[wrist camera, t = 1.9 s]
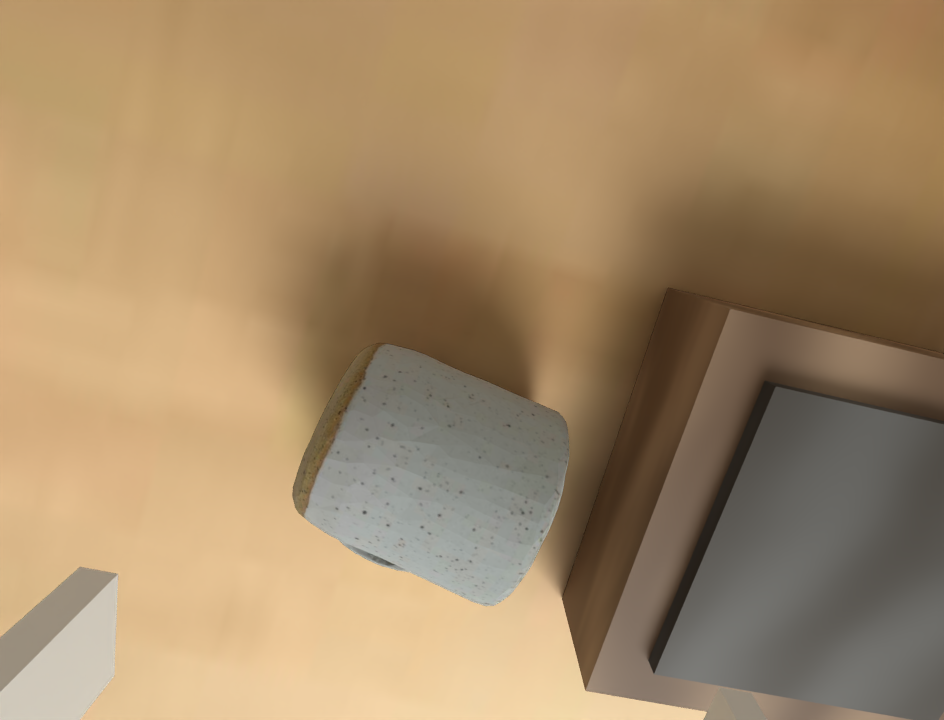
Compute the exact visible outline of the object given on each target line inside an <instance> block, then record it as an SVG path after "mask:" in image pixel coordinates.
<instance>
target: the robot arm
mask: <svg viewBox="0 0 944 720" xmlns="http://www.w3.org/2000/svg"><path fill="white" fill-rule="evenodd" d="M117 589H118V574H116V573H110V572H105V571H100V570H94V569H89V568H84V567H79V568H78V569H77V570H76V571H75V572H74V573H73V574H71V575H70V576H69V577H68V578H67V579H66V580H65V581H64V582H62V583H61V584H60V585H59V586H58V587H57V588H56V589H55V590H53V591H52V592H51V593H50V594H49V595H48V596H47V597H45V598H44V599H43V600H42V601H41V602H40V603H39V604H38V605H36V606H35V607H34V608H33V609H32V610H31V611H30V612H29V613H27V614H26V615H25V616H24V617H23V618H22V619H21V620H20V621H18V622H17V623H16V624H15V625H14V626H13V627H12V628H11V629H9V630H8V631H7V632H6V633H5V634H4V635H3V636H2V637H0V720H80V719H81V718H82V716H83V715H84V714H85V712H86V711H87V710H88V709H89V707H90V706H91V705H92V704H93V702H94V701H95V700H96V698H97V697H98V696H99V695H100V693H101V692H102V691H103V690H104V688H105V687H106V686H107V684H108V683H109V682H110V681H111V679H112V678H113V677H114V669H115V643H116V616H117ZM704 720H767V719H766V717H765V715H764V714H763V712H762V710H761V708H760V707H759V705H758V703H757V702H756V700H755V698H754V697H753V695H752V693H748V692H742V691H737V690H732V689H726V688H721V687H719V689H718V691H717V693H716V695H715V697H714V699H713V701H712V703H711V705H710V707H709V709H708V711H707V714H706V716H705V718H704Z"/></svg>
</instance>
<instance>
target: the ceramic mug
mask: <svg viewBox="0 0 944 720" xmlns="http://www.w3.org/2000/svg"><path fill="white" fill-rule="evenodd" d="M568 461H569V436H568V428H567V424H566V421H565V420H564V418H563V417H562V416H561V415H560V414H559V413H558V412H557V411H554V410H552V409H550V408H547V407H545V406H543V405H540V404H538V403H536V402H533V401H531V400H529V399H526V398H524V397H521V396H519V395H517V394H514V393H512V392H510V391H508V390H505V389H503V388H501V387H499V386H496V385H494V384H492V383H490V382H487V381H485V380H482V379H480V378H477V377H475V376H472V375H469V374H467V373H464V372H462V371H460V370H457V369H455V368H453V367H451V366H448V365H446V364H444V363H442V362H440V361H438V360H436V359H434V358H432V357H429V356H427V355H425V354H422V353H420V352H417V351H415V350H411V349H407V348H403V347H399V346H395V345H391V344H384V343H378V344H375V345H371V346H369V347H367V348H365V349H363V350H362V351H361V352H360V353H359V354H358V355H357V357H356V358H355V359H354V361H353V362H352V364H351V365H350V366H349V368H348V369H347V371H346V373H345V374H344V376H343V377H342V379H341V381H340V382H339V384H338V386H337V388H336V390H335V392H334V393H333V395H332V397H331V399H330V401H329V403H328V404H327V406H326V408H325V410H324V412H323V414H322V416H321V418H320V420H319V422H318V424H317V427H316V429H315V431H314V433H313V436H312V438H311V440H310V443H309V445H308V447H307V449H306V451H305V453H304V455H303V458H302V461H301V464H300V467H299V469H298V472H297V476H296V479H295V482H294V486H293V500H294V504H295V508H296V510H297V511H298V513H299V514H300V515H302V516H303V517H304V518H305V519H307V520H308V521H309V522H310V523H311V524H313V525H314V526H316V527H317V528H319V529H320V530H322V531H324V532H325V533H327V534H328V535H330V536H332V537H334V538H336V539H338V540H339V541H340V542H341V543H342V544H343V545H345V546H346V547H347V548H349V549H350V550H351V551H353V552H354V553H356V554H358V555H360V556H362V557H363V558H365V559H367V560H369V561H371V562H373V563H376V564H378V565H381V566H384V567H388V568H391V569H395V570H399V571H406V572H410V573H412V574H415V575H417V576H419V577H421V578H423V579H426V580H428V581H430V582H432V583H434V584H436V585H438V586H440V587H442V588H444V589H447V590H449V591H451V592H453V593H455V594H457V595H459V596H461V597H464V598H466V599H468V600H470V601H472V602H475V603H478V604H481V605H484V606H494V605H496V604H498V603H500V602H501V601H502V600H504V599H505V598H506V597H508V596H509V595H510V594H511V593H512V592H513V591H514V589H515V588H516V587H517V586H518V584H519V583H520V581H521V580H522V579H523V577H524V576H525V575H526V573H527V572H528V570H529V569H530V567H531V565H532V564H533V562H534V560H535V558H536V556H537V553H538V551H539V549H540V547H541V545H542V543H543V541H544V539H545V537H546V535H547V533H548V531H549V529H550V526H551V524H552V522H553V519H554V517H555V514H556V512H557V509H558V506H559V503H560V499H561V496H562V492H563V488H564V481H565V474H566V470H567V467H568Z"/></svg>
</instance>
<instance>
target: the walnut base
mask: <svg viewBox="0 0 944 720" xmlns="http://www.w3.org/2000/svg"><path fill="white" fill-rule="evenodd" d="M562 600H563V604H564V608H565V612H566V616H567V620H568V624H569V628H570V632H571V636H572V640H573V644H574V647H575V651H576V655H577V659H578V663H579V667H580V671H581V675H582V679H583V683H584V687H585V691H590V692H595V693H601V694H607V695H613V696H619V697H625V698H630V699H636V700H642V701H648V702H654V703H660V704H665V705H671V706H677V707H683V708H689V709H695V710H700V711H706V712H707V711H708V709H709V707H710V705H711V703H712V701H713V699H714V697H715V695H716V693H717V691H718V689H719V687H721V688H726V689H732V690H737V691H742V692H748V693H752V695H753V697H754V698H755V700H756V702H757V703H758V705H759V707H760V708H761V710H762V712H763V714H764V715H765V717H766V719H767V720H944V353H940V352H936V351H932V350H927V349H923V348H919V347H915V346H911V345H906V344H902V343H898V342H894V341H890V340H885V339H881V338H877V337H873V336H869V335H864V334H860V333H856V332H852V331H848V330H843V329H839V328H835V327H831V326H827V325H822V324H818V323H814V322H810V321H806V320H801V319H797V318H793V317H789V316H785V315H780V314H776V313H772V312H768V311H764V310H759V309H755V308H751V307H747V306H743V305H738V304H734V303H730V302H726V301H722V300H717V299H713V298H709V297H705V296H701V295H696V294H692V293H688V292H684V291H680V290H675V289H671V288H668V289H667V292H666V295H665V298H664V301H663V304H662V307H661V310H660V313H659V316H658V319H657V322H656V325H655V328H654V330H653V333H652V336H651V339H650V342H649V345H648V348H647V351H646V354H645V357H644V360H643V363H642V366H641V369H640V372H639V375H638V377H637V380H636V383H635V386H634V389H633V392H632V395H631V398H630V401H629V404H628V407H627V410H626V413H625V416H624V419H623V422H622V424H621V427H620V430H619V433H618V436H617V439H616V442H615V445H614V448H613V451H612V454H611V457H610V460H609V463H608V466H607V469H606V471H605V474H604V477H603V480H602V483H601V486H600V489H599V492H598V495H597V498H596V501H595V504H594V507H593V510H592V513H591V516H590V518H589V521H588V524H587V527H586V530H585V533H584V536H583V539H582V542H581V545H580V548H579V551H578V554H577V557H576V560H575V563H574V565H573V568H572V571H571V574H570V577H569V580H568V583H567V586H566V589H565V592H564V595H563V598H562Z"/></svg>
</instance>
